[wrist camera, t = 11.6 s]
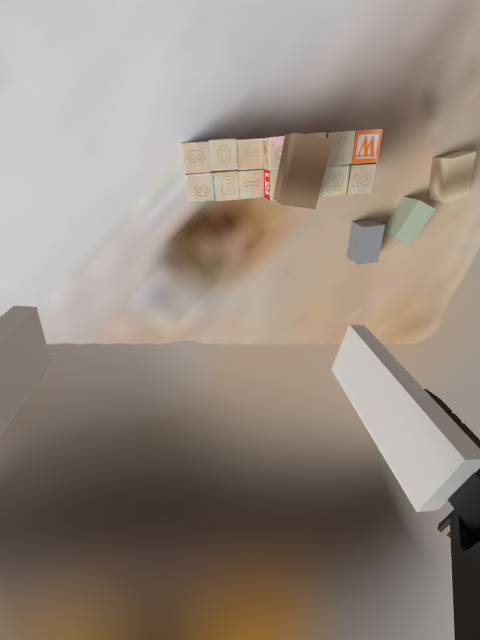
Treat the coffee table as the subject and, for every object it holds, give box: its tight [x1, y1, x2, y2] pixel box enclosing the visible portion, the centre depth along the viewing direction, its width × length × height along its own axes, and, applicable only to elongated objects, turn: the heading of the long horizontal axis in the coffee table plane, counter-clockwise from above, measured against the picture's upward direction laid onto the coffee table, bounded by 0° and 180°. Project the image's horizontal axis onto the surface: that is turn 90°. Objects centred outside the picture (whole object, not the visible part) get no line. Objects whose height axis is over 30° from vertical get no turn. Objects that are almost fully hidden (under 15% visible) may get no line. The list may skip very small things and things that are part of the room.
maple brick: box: [428, 151, 477, 203], centre depth 42 cm, size 6×4×4 cm, turn 14°
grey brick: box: [347, 220, 385, 264], centre depth 46 cm, size 6×4×4 cm, turn 4°
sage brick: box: [384, 197, 436, 246], centre depth 45 cm, size 6×4×4 cm, turn 157°
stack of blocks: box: [181, 129, 383, 203], centre depth 35 cm, size 21×6×12 cm, turn 93°
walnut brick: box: [273, 133, 333, 209], centre depth 28 cm, size 6×4×4 cm, turn 172°
